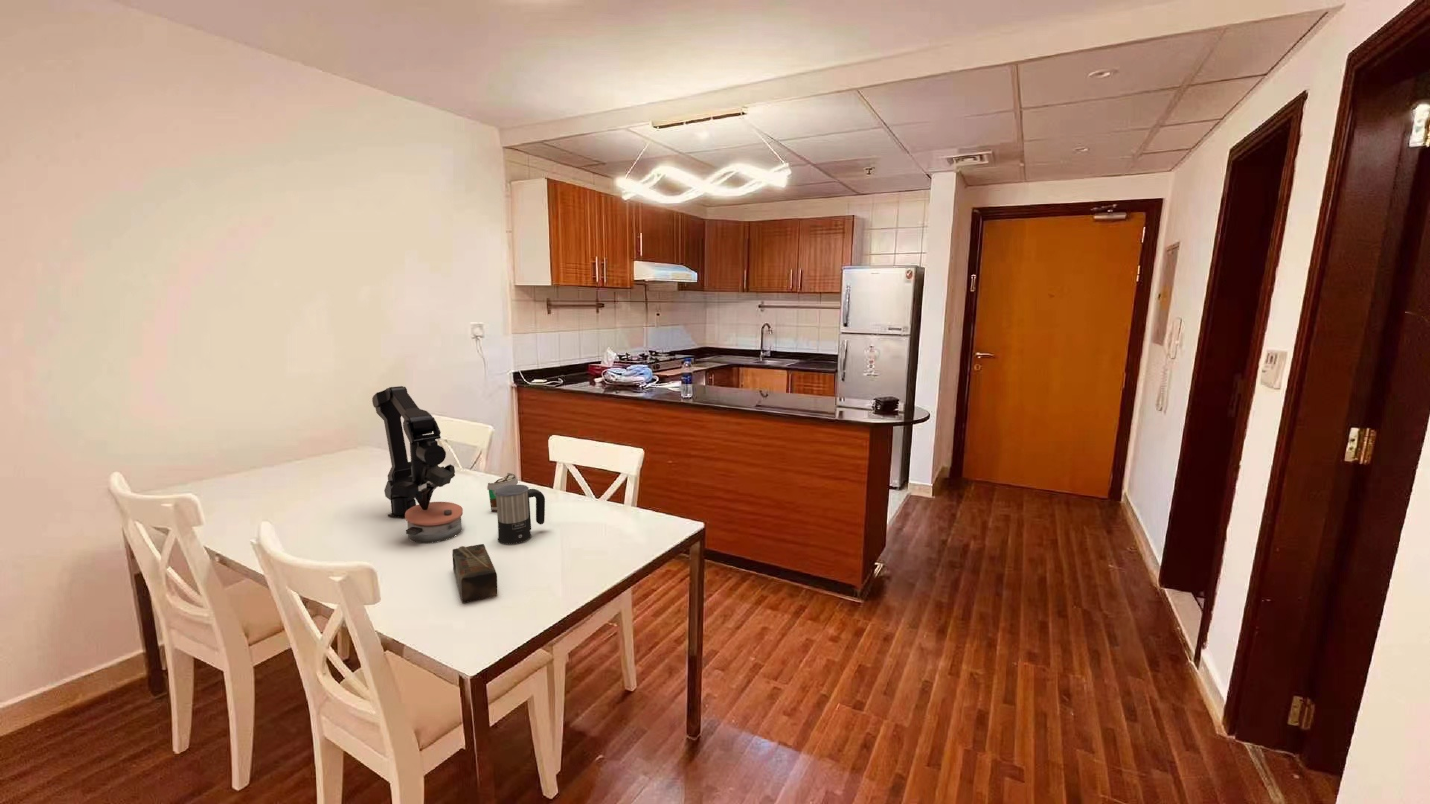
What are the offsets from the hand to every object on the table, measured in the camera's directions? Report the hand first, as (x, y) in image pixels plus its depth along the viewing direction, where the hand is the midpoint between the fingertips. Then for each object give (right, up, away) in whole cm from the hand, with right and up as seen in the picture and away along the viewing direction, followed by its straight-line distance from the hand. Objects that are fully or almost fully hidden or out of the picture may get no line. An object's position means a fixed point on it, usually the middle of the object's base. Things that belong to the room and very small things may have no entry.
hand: (425, 509), depth 165 cm
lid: (+3, -1, -1) cm, 3 cm away
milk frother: (+25, -7, +1) cm, 27 cm away
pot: (+3, -7, 0) cm, 8 cm away
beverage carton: (+26, -13, -28) cm, 40 cm away
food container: (+16, -4, +22) cm, 27 cm away
